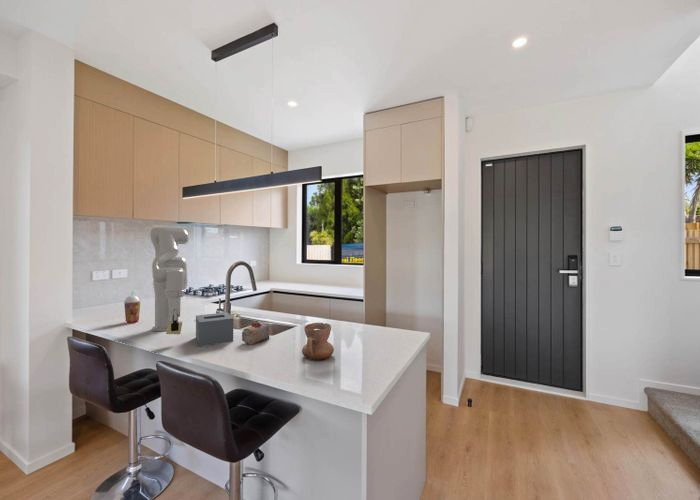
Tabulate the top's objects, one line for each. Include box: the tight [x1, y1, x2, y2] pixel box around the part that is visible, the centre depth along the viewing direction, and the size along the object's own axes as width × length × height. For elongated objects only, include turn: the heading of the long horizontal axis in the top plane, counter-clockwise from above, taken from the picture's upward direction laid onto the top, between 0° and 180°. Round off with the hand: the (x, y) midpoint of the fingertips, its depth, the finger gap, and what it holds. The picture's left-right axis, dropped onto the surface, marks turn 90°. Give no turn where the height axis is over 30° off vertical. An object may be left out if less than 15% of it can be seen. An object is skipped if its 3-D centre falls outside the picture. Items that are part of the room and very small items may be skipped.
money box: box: [195, 312, 234, 347], centre depth 159 cm, size 16×16×12 cm
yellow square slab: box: [165, 320, 183, 335], centre depth 150 cm, size 2×6×6 cm, turn 122°
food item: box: [241, 322, 270, 346], centre depth 157 cm, size 14×8×10 cm, turn 153°
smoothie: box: [123, 290, 141, 324], centre depth 190 cm, size 8×8×20 cm
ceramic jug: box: [301, 322, 335, 361], centre depth 136 cm, size 18×14×14 cm
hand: (174, 329), depth 150 cm, fingers closed on yellow square slab, 1 cm apart
